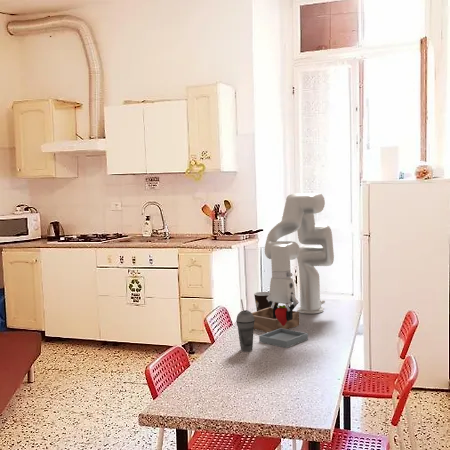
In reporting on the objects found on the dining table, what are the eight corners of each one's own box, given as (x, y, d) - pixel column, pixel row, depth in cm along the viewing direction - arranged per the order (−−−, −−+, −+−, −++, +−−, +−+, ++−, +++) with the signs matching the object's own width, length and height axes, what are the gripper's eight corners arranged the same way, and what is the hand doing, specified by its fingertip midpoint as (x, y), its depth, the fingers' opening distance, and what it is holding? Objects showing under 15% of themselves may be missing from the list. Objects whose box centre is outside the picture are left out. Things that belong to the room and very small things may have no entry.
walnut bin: (270, 319, 275) (270, 307, 274) (299, 325, 263) (299, 311, 262) (246, 327, 263) (246, 314, 262) (275, 333, 251) (275, 319, 251)
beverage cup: (254, 352, 227) (252, 301, 225) (235, 352, 228) (233, 301, 226) (257, 347, 234) (255, 297, 232) (239, 346, 235) (236, 297, 233)
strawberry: (273, 327, 238) (272, 303, 237) (278, 323, 245) (277, 299, 244) (287, 328, 236) (286, 303, 235) (292, 323, 243) (291, 299, 242)
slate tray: (281, 333, 251) (280, 328, 251) (308, 339, 241) (307, 333, 241) (259, 341, 241) (259, 335, 241) (286, 347, 231) (286, 341, 231)
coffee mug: (273, 315, 282) (272, 295, 281) (255, 316, 282) (254, 295, 281) (272, 310, 293) (271, 290, 292) (254, 310, 293) (253, 290, 292)
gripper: (304, 275, 235) (305, 319, 237) (270, 271, 247) (272, 314, 249) (292, 278, 230) (294, 323, 231) (258, 274, 242) (260, 317, 243)
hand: (282, 318), depth 240 cm, fingers closed on strawberry, 6 cm apart
